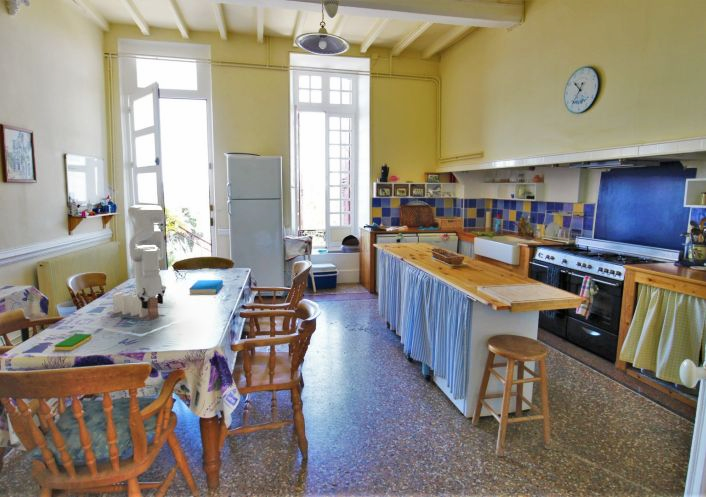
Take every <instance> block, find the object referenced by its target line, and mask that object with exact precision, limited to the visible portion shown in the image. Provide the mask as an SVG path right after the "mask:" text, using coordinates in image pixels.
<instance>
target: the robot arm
mask: <svg viewBox="0 0 706 497" xmlns="http://www.w3.org/2000/svg"><path fill="white" fill-rule="evenodd" d="M127 212H128V216H129V218H130V220H131V221H132V223H133V236H132V237H131V238H130V240H129V246H128V247H129V256H130V259H131V261H132V262H133V269H134V270H133V271H134V286H135V287H134V288H133V289H132V290H131V293H134V294H133V295H132V296H135V295H137V296H138V297H139V299H140V300H141V301H142V308H144V309H148V301H146V300H147V299H148V297H149V299H151V298H154V297H157V298H158V305H159V304H161V305H163V304H164V296H165V295H164V294H165V292H166V289H167V286H166V285H163V282H162V277H161V274H160V272H161V269H160V261H161V260H162V259H164V254H165V252H164V247H165V246H164V245H165V244H164V233H163V231H162V230H161V229H158V228H155V224H162V223H164V221H165V220H166V219H165V218H166V217H165V212H164V209H163V208H162V207H161V205H132V206H129V207H128V209H127ZM136 245H137V246H136ZM156 295H157V296H156ZM144 297H145V298H144Z"/></svg>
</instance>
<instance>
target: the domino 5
mask: <svg viewBox="0 0 706 497" xmlns="http://www.w3.org/2000/svg"><path fill="white" fill-rule="evenodd" d="M147 301H148V319H152V318H155V317H158V314H159V303H158V298H157V296H154V297H151V298H149V299H148V300H147Z"/></svg>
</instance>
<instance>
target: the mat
mask: <svg viewBox="0 0 706 497" xmlns="http://www.w3.org/2000/svg"><path fill="white" fill-rule="evenodd" d="M106 315H111V316H116V317H117V316H118V317H122V318H129V319H134V320H140V321H146V322H151V321H154V320H157V319H160V318H162V317H166V314H162V313H158V317H155V318H152V319H148V315H147V316H145V317H139V314H137V315H134V316H131V313H128V314H122V311H121V312H118V313H114V310H113V311H109V312H107V313H106Z"/></svg>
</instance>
